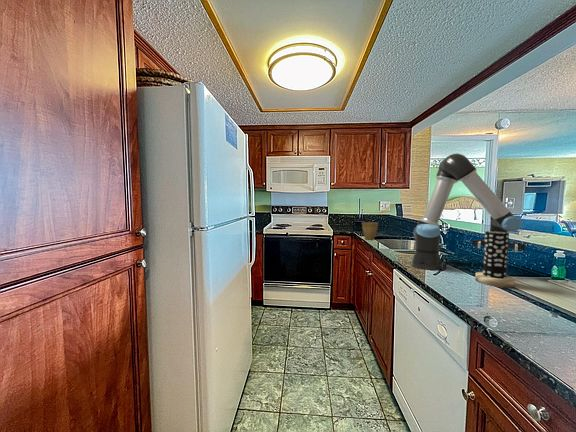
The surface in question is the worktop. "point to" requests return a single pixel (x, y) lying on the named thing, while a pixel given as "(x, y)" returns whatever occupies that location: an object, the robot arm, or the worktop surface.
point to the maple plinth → (495, 280)
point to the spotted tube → (495, 254)
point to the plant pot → (369, 230)
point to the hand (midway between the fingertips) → (497, 247)
